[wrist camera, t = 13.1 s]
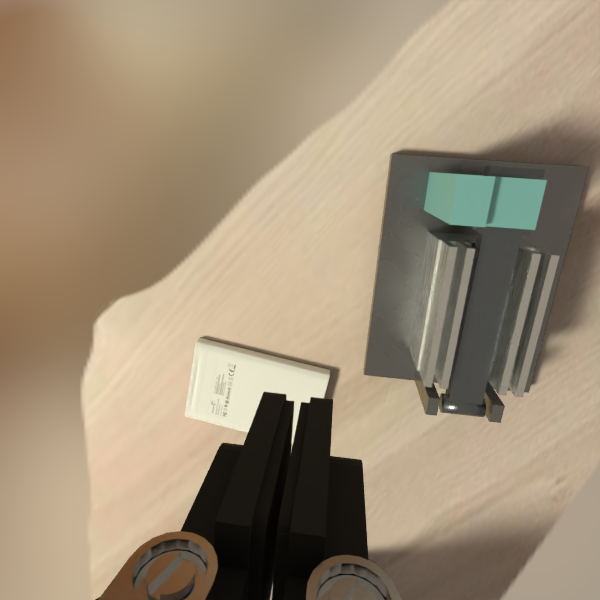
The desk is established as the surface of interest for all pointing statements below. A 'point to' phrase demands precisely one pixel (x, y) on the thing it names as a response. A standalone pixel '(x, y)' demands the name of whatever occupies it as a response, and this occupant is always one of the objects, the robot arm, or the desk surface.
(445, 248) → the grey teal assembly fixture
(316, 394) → the external hard drive
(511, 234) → the dark grey flat bar
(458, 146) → the desk surface
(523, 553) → the desk surface
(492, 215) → the clip
